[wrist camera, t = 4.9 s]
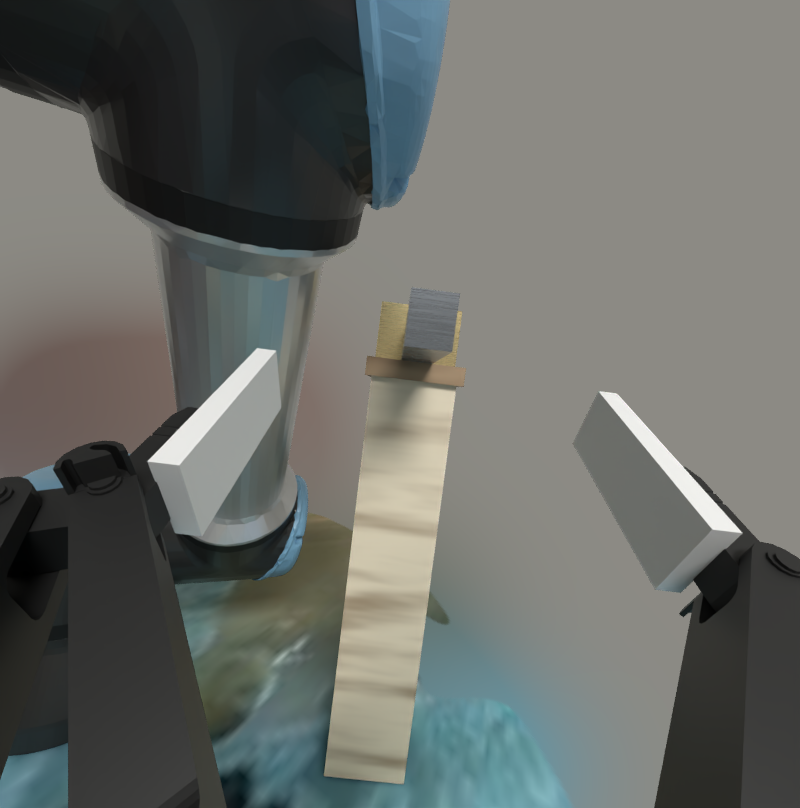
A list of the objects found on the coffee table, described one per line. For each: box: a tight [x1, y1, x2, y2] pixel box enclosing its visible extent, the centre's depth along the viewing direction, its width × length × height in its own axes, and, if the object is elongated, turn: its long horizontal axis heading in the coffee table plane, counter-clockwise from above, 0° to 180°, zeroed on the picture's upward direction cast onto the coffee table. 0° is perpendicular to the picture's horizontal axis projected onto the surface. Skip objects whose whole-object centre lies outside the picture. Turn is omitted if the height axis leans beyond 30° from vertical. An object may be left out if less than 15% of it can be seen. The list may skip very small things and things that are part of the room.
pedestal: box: [324, 356, 466, 784], centre depth 33 cm, size 8×8×36 cm
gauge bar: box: [376, 287, 462, 367], centre depth 27 cm, size 18×7×5 cm, turn 1°
